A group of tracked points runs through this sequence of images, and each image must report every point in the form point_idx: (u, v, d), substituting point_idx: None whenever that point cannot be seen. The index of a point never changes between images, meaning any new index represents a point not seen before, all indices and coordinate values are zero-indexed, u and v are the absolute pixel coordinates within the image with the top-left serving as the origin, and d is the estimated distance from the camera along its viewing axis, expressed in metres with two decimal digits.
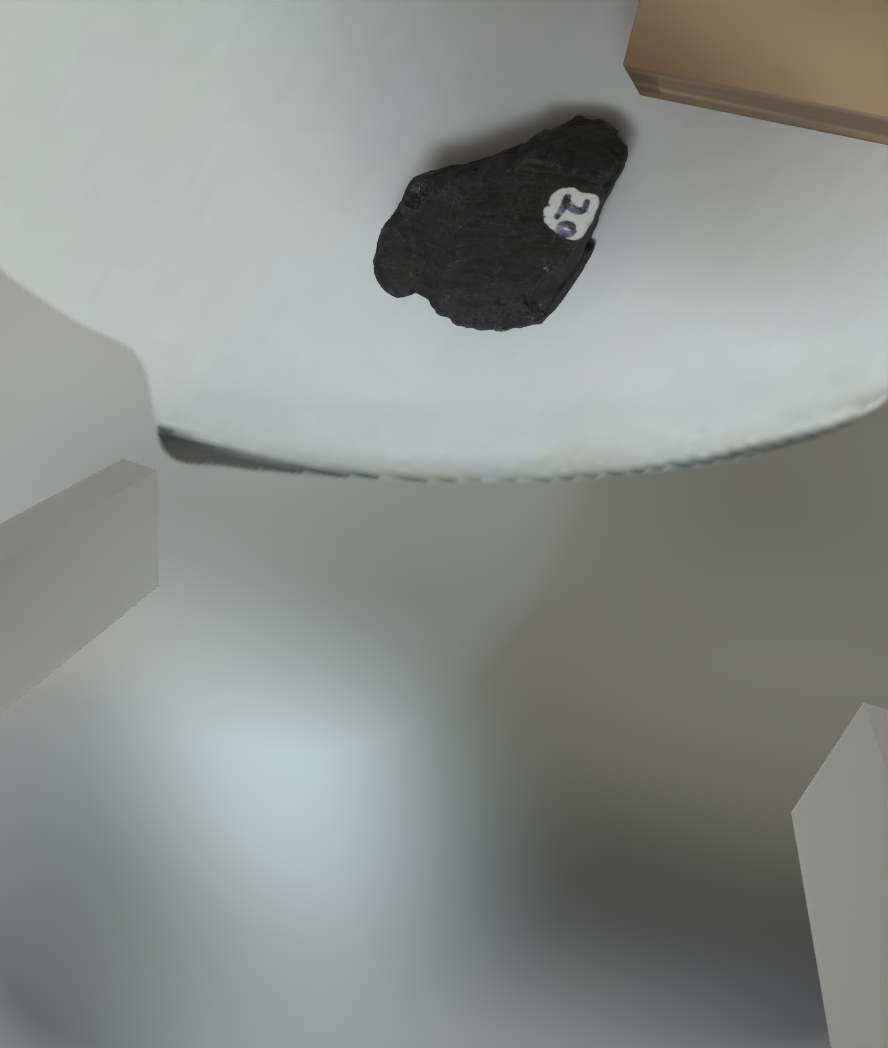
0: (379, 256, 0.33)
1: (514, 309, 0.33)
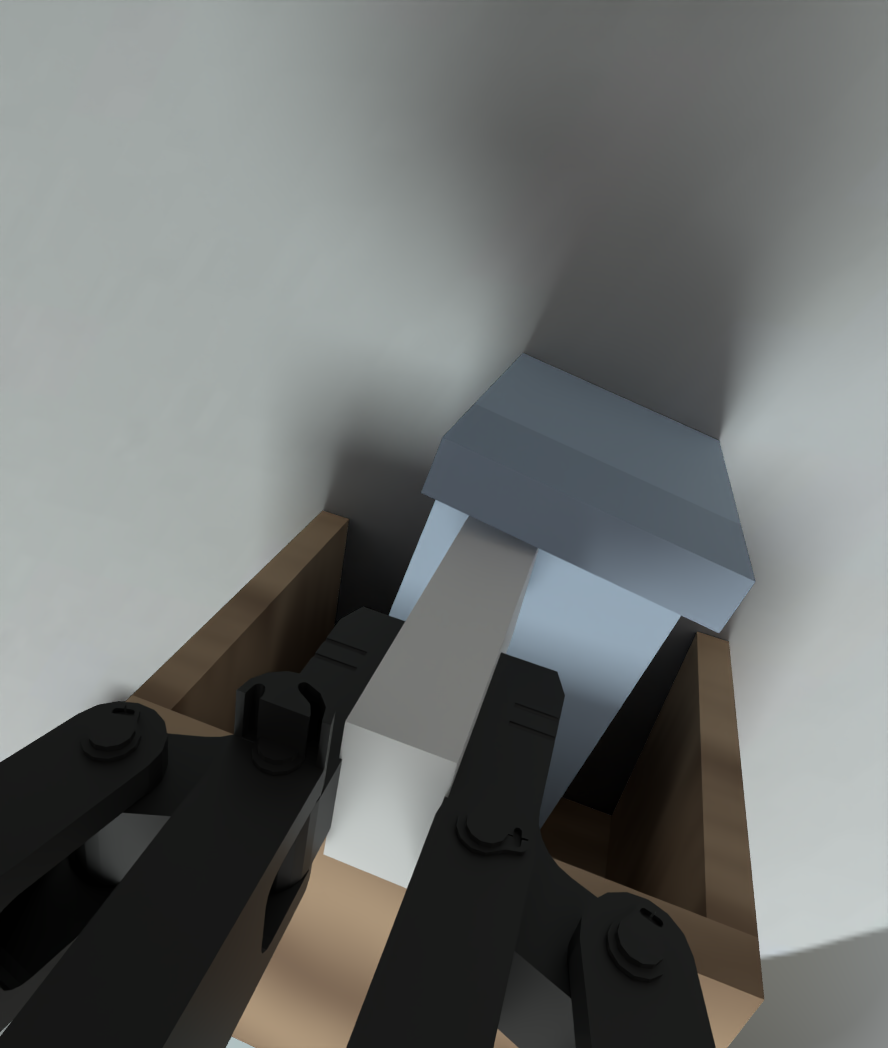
0: None
1: None
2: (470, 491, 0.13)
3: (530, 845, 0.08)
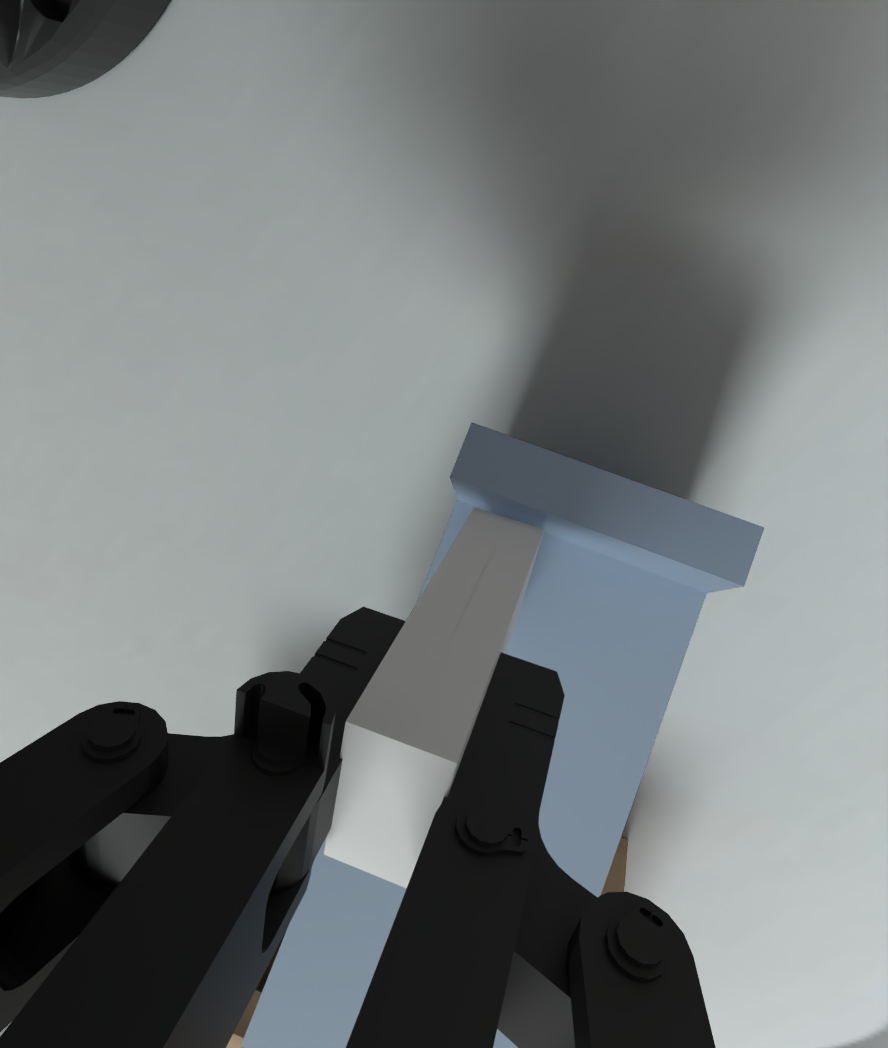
0: None
1: None
2: (497, 470, 0.14)
3: (530, 845, 0.08)
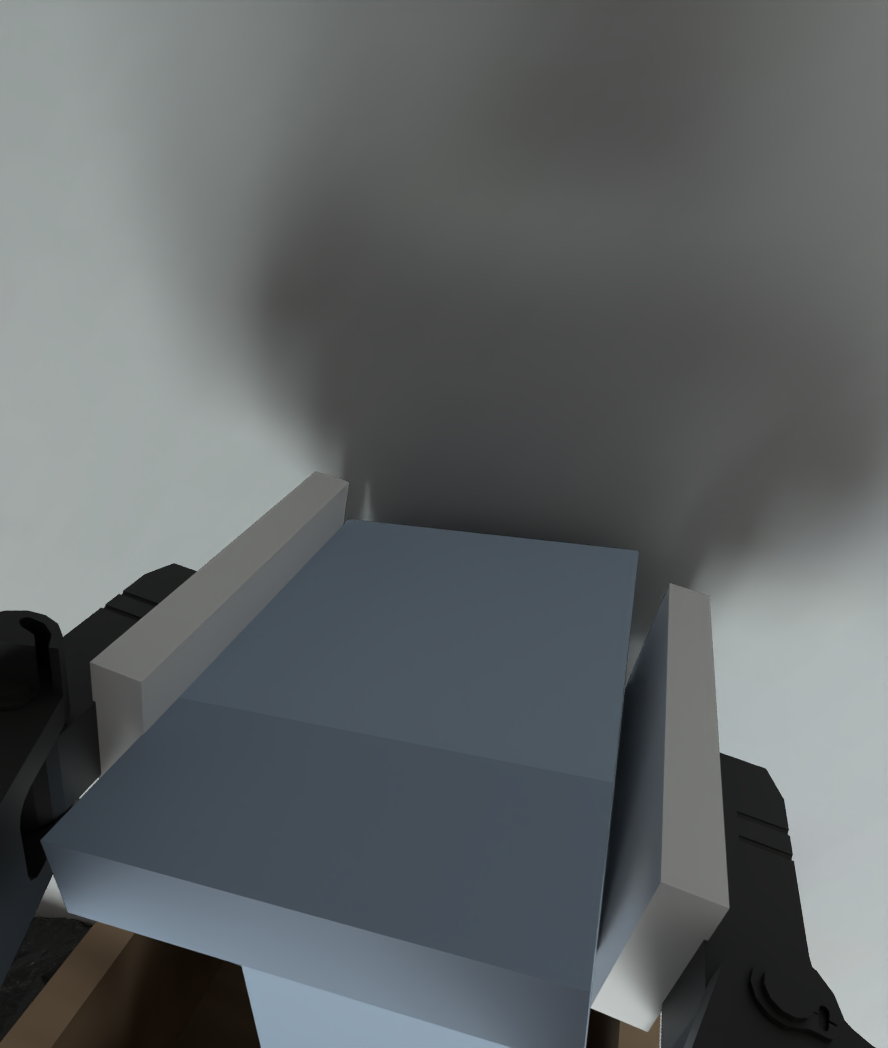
0: None
1: None
2: (119, 903, 0.08)
3: (837, 1031, 0.07)
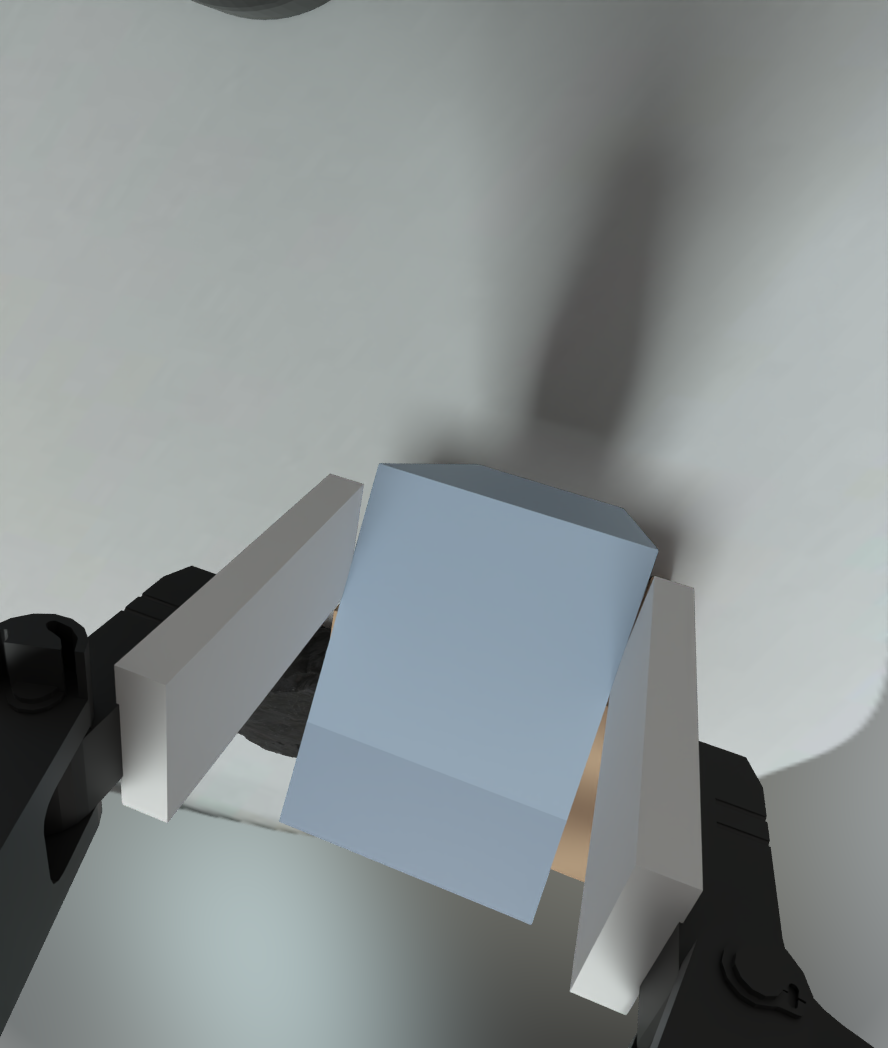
0: None
1: (290, 748, 0.45)
2: None
3: (806, 1009, 0.07)
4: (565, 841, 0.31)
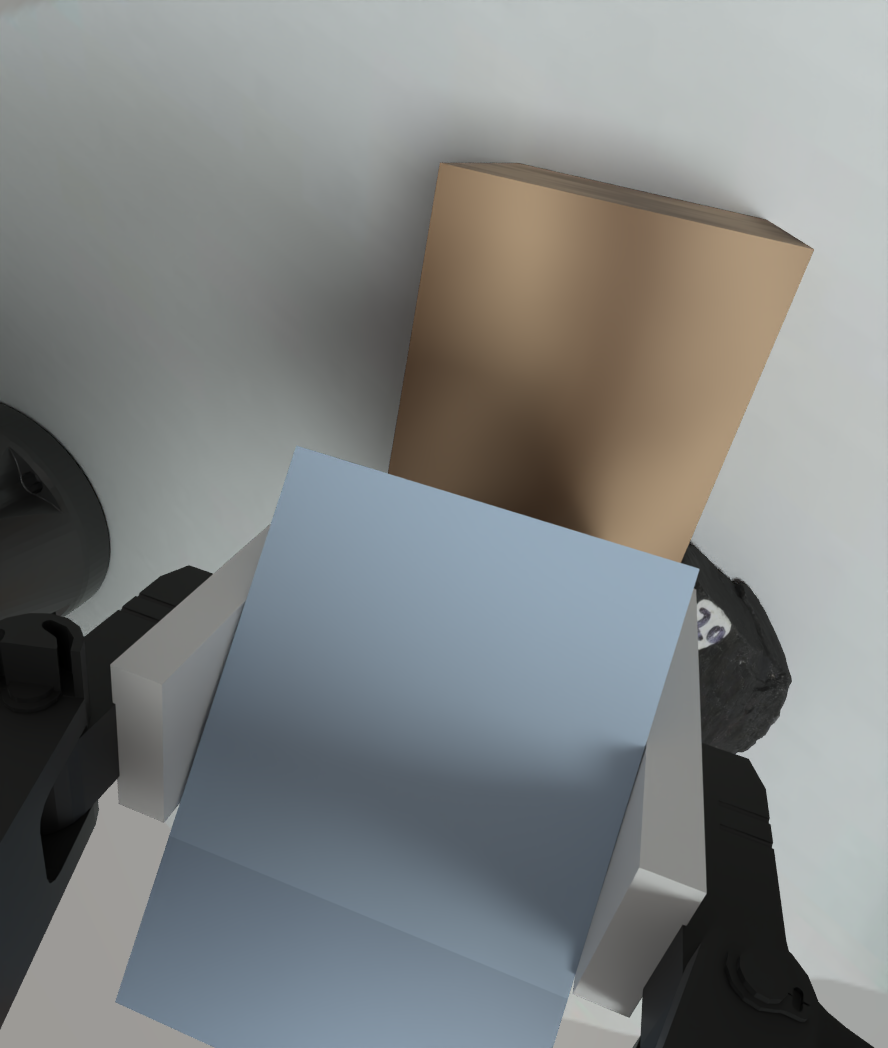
0: None
1: (763, 701, 0.32)
2: None
3: (812, 1013, 0.07)
4: (706, 301, 0.19)
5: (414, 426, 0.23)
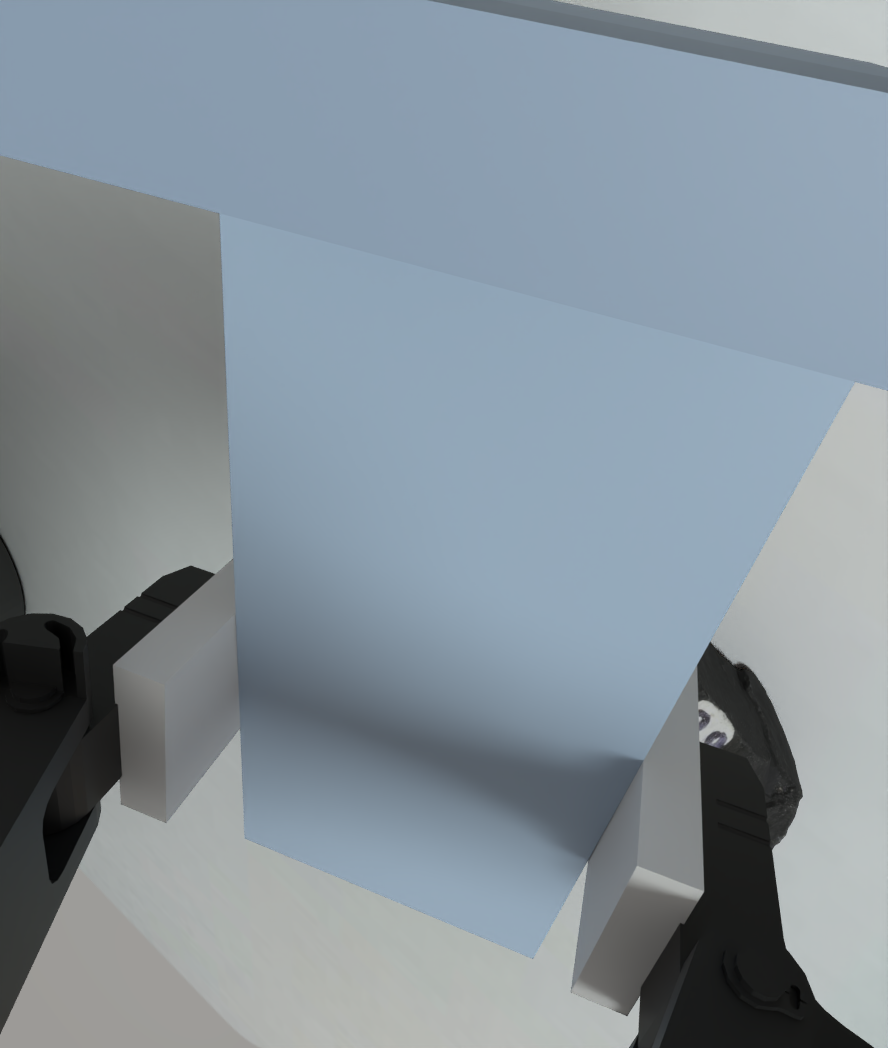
0: None
1: (767, 818, 0.27)
2: (98, 98, 0.04)
3: (808, 1010, 0.07)
4: None
5: None
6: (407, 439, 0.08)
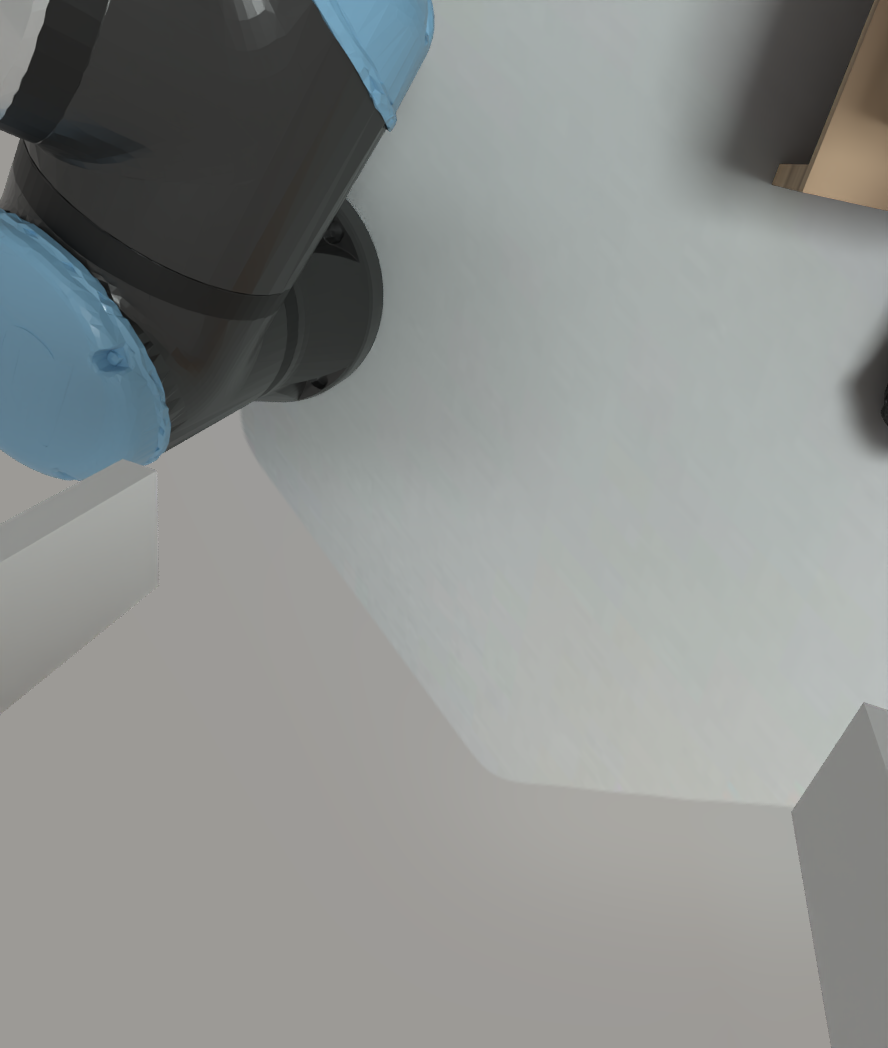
0: None
1: None
2: None
3: None
4: None
5: None
6: None
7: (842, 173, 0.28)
